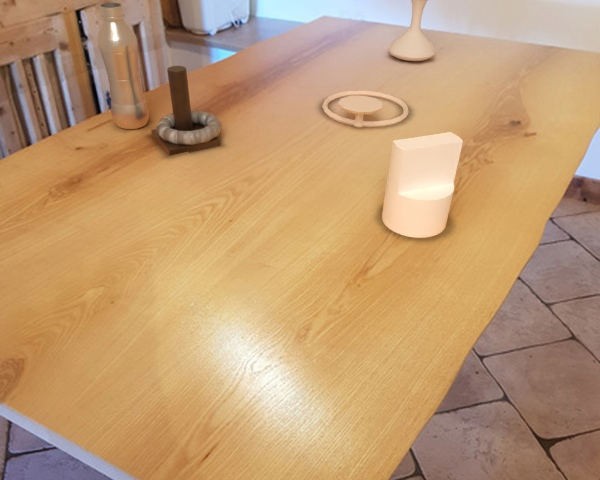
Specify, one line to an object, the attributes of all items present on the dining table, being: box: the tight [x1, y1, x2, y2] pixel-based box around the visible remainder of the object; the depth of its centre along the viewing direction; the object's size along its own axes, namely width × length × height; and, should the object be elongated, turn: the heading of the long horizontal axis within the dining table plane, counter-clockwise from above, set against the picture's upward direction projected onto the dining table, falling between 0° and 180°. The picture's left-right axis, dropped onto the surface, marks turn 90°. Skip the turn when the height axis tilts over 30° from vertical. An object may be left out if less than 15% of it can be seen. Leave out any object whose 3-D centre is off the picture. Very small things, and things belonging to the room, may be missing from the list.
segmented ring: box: [155, 110, 223, 145], centre depth 94 cm, size 11×11×2 cm
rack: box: [150, 65, 221, 157], centre depth 91 cm, size 9×9×12 cm
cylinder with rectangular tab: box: [381, 131, 464, 239], centre depth 73 cm, size 9×9×12 cm
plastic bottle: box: [97, 1, 150, 130], centre depth 94 cm, size 6×7×20 cm
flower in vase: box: [387, 0, 436, 62], centre depth 125 cm, size 13×11×25 cm
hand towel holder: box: [321, 89, 409, 128], centre depth 105 cm, size 17×4×21 cm
